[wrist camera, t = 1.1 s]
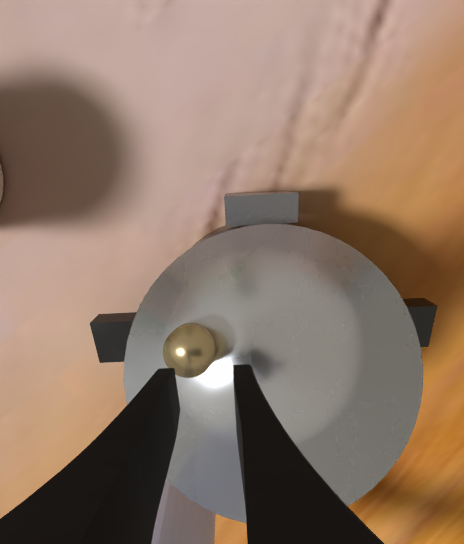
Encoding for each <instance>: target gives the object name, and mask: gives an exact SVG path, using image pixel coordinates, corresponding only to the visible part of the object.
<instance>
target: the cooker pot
mask: <svg viewBox="0 0 464 544" xmlns="http://www.w3.org/2000/svg"><path fill="white" fill-rule="evenodd" d="M224 200H225V218H226V226H223V227H221V228H218V229H216V230H215V231H213V232H211V233H209V234H207V235H206V236H205V237H203V238H202V239H201V240H199V241H198V242H197V243H196V244H195V245H197V244H199V243H201V242H203V241H204V240H206V239H208V238H210V237H213V236H215V235H218V234H220V233H223V232H225V231H228V230H232V229H236V228H240V227H244V226H251V225H260V224H287V225H292V224H289V223H298V203H299V193H298V192H289V191H273V192H254V193H235V194H225V196H224ZM293 226H295V225H293ZM195 245H194V246H195ZM194 246H193V247H194ZM402 300H403V301H404V303H405V305H406V306H407V308H408V311H409V313H410V315H411V318H412V320H413V323H414V325H415V328H416V332H417V335H418V339H419V343H420V347H428V345H429V341H430V336H431V332H432V327H433V323H434V318H435V314H436V309H437V305H435V304H433V303H432V302H430V301H428V300H426V299H425V298H413V299H402ZM136 314H137V312H135V313H115V314H99V315H98V316H97V317H96V318H95V319H94V320H93V321H92V322H91V323H90V326H91V330H92V334H93V338H94V342H95V345H96V349H97V353H98V357H99V361H100V363H103V362H123V361H124V359H125V353H126V346H127V340H128V337H129V333H130V330H131V326H132V323H133V320H134V318H135V316H136Z"/></svg>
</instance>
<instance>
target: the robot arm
mask: <svg viewBox="0 0 464 544" xmlns="http://www.w3.org/2000/svg"><path fill="white" fill-rule="evenodd" d="M233 382H234V399H235V415H236V432H237V442H238V450H239V459H240V467H241V475H242V483H243V492H244V500H245V509H246V521H247V539H248V544H384V543H383V542H382V541H381V540H380V539H379V538H378V537H377V536H376V535H375V534H374V533H373V532H372V531H371V530H370V529H369V528H368V527H367V526H366V525H365V524H364V523H363V522H362V521H361V520H360V519H359V518H358V517H357V516H356V515H355V514H354V513H353V512H352V511H351V510H350V509H349V508H348V506H347V505H346V504H345V503H344V502H343V501H342V500H341V499H340V498H339V496H338V495H337V494H336V493H335V492H334V491H333V490H332V489H331V487H330V486H329V485H328V484H327V483H326V482H325V481H324V480H323V478H322V477H321V476H320V475H319V474H318V473H317V472H316V470H315V469H314V468H313V467H312V465H311V464H310V463H309V462H308V460H307V459H306V458H305V457H304V455H303V454H302V453H301V451H300V450H299V449H298V447H297V446H296V445H295V443H294V442H293V441H292V439H291V438H290V436H289V435H288V433H287V432H286V431H285V429H284V428H283V426H282V424H281V423H280V421H279V420H278V418H277V417H276V415H275V413H274V412H273V410H272V408H271V407H270V405H269V403H268V401H267V400H266V398H265V396H264V394H263V392H262V390H261V388H260V386H259V384H258V382H257V379H256V377H255V375H254V372H253V369H252V366H251V365H249V364H242V365H233ZM179 416H180V403H179V397H178V390H177V383H176V376H175V369H174V368H160V369H158V370H157V371H156V372H155V373H154V374H153V375H152V377H151V378H150V379H149V380H148V381H147V383H146V384H145V385H144V386H143V387H142V389H141V390H140V391H139V392H138V393H137V395H136V396H135V397H134V398H133V399H132V400H131V401H130V403H129V404H128V405H127V406H126V407H125V408H124V409H123V410H122V412H121V413H120V414H119V415H118V416H117V417H116V418H115V419H114V420H113V421H112V422H111V423H110V424H109V425H108V426H107V427H106V429H105V430H104V431H103V432H102V433H101V434H100V435H99V436H98V437H97V438H96V439H95V440H94V441H93V442H92V443H91V444H90V445H89V446H88V447H87V448H85V449H84V450H83V451H82V452H81V453H80V454H79V455H78V456H77V457H76V458H75V459H74V460H72V461H71V462H70V463H69V464H68V465H67V466H66V467H65V468H63V469H62V470H61V471H60V472H59V473H57V474H56V475H55V476H54V477H53V478H51V479H50V480H49V481H48V482H46V483H45V484H44V485H43V486H42V487H40V488H39V489H38V490H37V491H36V492H34V493H33V494H32V495H31V496H29V497H28V498H27V499H26V500H24V501H23V502H22V503H21V504H19V505H18V506H17V507H15V508H14V509H13V510H11V511H10V512H9V513H7V514H6V515H5V516H4V517H2V518H1V519H0V544H214V537H215V514H216V513H214V512H212V511H210V510H207V509H205V508H203V507H202V506H200V505H199V504H197V503H195V502H194V501H192V500H190V499H189V498H187V497H186V496H185V495H184V494H182V493H181V492H180V491H179V490H177V489H176V488H175V487H174V486H173V485H172V484H171V483H170V482H169V481H168V480H167V479H166V477H167V473H168V469H169V465H170V461H171V457H172V453H173V449H174V445H175V441H176V437H177V430H178V423H179Z"/></svg>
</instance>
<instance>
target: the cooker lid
mask: <svg viewBox="0 0 464 544" xmlns="http://www.w3.org/2000/svg"><path fill="white" fill-rule="evenodd" d="M242 364H249V365H251V366H252V369H253V372H254V375H255V377H256V379H257V382H258V384H259V386H260V388H261V390H262V392H263V394H264V396H265V398H266V400H267V401H268V403H269V405H270V407H271V408H272V410H273V412H274V413H275V415H276V417H277V418H278V420H279V421H280V423H281V424H282V426H283V428H284V429H285V431H286V432H287V433H288V435H289V436H290V438H291V439H292V441H293V442H294V443H295V445H296V446H297V447H298V449H299V450H300V451H301V453H302V454H303V455H304V457H305V458H306V459H307V460H308V462H309V463H310V464H311V465H312V467H313V468H314V469H315V470H316V472H317V473H318V474H319V475H320V476H321V477H322V478H323V480H324V481H325V482H326V483H327V484H328V485H329V486H330V487H331V489H332V490H333V491H334V492H335V493H336V494H337V495H338V496H339V498H340V499H341V500H342V501H343V502H344V503H345V504H346V505H347V506H348V505H350V504H352V503H354V502H356V501H357V500H358V499H360V498H361V497H362V496H364V495H365V494H366V493H367V492H369V491H370V490H371V489H373V488H374V487H375V486H376V485H377V484H378V483H379V482H380V481H381V480H382V479H383V478H384V477H385V476H386V474H387V473H388V472H389V470H390V469H391V468H392V467H393V465H394V464H395V463H396V461H397V460H398V458H399V457H400V455H401V453H402V452H403V450H404V448H405V446H406V445H407V443H408V441H409V438H410V436H411V433H412V431H413V428H414V426H415V423H416V420H417V416H418V412H419V408H420V404H421V396H422V389H423V362H422V355H421V348H420V343H419V339H418V335H417V332H416V328H415V325H414V323H413V320H412V318H411V315H410V313H409V311H408V308H407V306H406V305H405V303H404V301H403V300H402V298H401V296H400V294H399V293H398V291H397V290H396V288H395V287H394V286H393V284H392V283H391V282H390V280H389V279H388V278H387V276H386V275H385V274H384V273H383V272H382V271H381V270H380V269H379V268H378V267H377V266H376V265H375V264H374V263H373V262H372V261H371V260H369V259H368V258H367V257H365V256H364V255H363V254H362V253H360V252H359V251H358V250H356V249H355V248H353V247H351V246H350V245H348V244H346V243H344V242H343V241H341V240H339V239H337V238H335V237H332V236H330V235H327V234H325V233H323V232H320V231H316V230H312V229H309V228H305V227H300V226H293V225H287V224H260V225H251V226H244V227H240V228H236V229H232V230H228V231H225V232H223V233H220V234H218V235H215V236H213V237H210V238H208V239H206V240H204V241H203V242H201V243H199V244H197V245H195V246H194V247H192V248H191V249H189V250H188V251H187V252H185V253H184V254H183V255H181V256H180V257H178V258H177V259H176V260H175V261H174V262H173V263H172V264H171V265H170V266H169V267H168V268H167V269H166V270H165V271H164V272H163V273H162V274H161V275H160V276H159V278H158V279H157V280H156V281H155V283H154V284H153V285H152V286H151V288H150V289H149V291H148V293H147V294H146V296H145V298H144V299H143V301H142V303H141V304H140V307H139V309H138V311H137V314H136V316H135V318H134V320H133V323H132V326H131V330H130V333H129V337H128V340H127V346H126V353H125V359H124V386H125V395H126V402H127V405H128V404H129V403H130V401H131V400H132V399H133V398H134V397H135V396H136V395H137V393H138V392H139V391H140V390H141V389H142V387H143V386H144V385H145V384H146V383H147V381H148V380H149V379H150V378H151V377H152V375H153V374H154V373H155V372H156V371H157V370H158V369H160V368H174V369H175V376H176V383H177V390H178V397H179V403H180V416H179V423H178V430H177V437H176V441H175V445H174V449H173V453H172V457H171V461H170V465H169V469H168V473H167V477H166V479H167V480H168V481H169V482H170V483H171V484H172V485H173V486H174V487H175V488H176V489H177V490H179V491H180V492H181V493H182V494H184V495H185V496H186V497H187V498H189V499H190V500H192V501H194V502H195V503H197V504H199V505H200V506H202V507H203V508H205V509H207V510H210V511H212V512H214V513H216V514H219V515H221V516H223V517H227V518H230V519H233V520H237V521H240V522H245V523H247V521H246V509H245V500H244V492H243V483H242V475H241V467H240V459H239V450H238V442H237V432H236V415H235V399H234V382H233V365H242Z"/></svg>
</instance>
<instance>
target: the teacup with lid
mask: <svg viewBox="0 0 464 544" xmlns="http://www.w3.org/2000/svg"><path fill="white" fill-rule="evenodd" d="M2 195H3V172H2V168H1V164H0V202H1V199H2Z"/></svg>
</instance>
